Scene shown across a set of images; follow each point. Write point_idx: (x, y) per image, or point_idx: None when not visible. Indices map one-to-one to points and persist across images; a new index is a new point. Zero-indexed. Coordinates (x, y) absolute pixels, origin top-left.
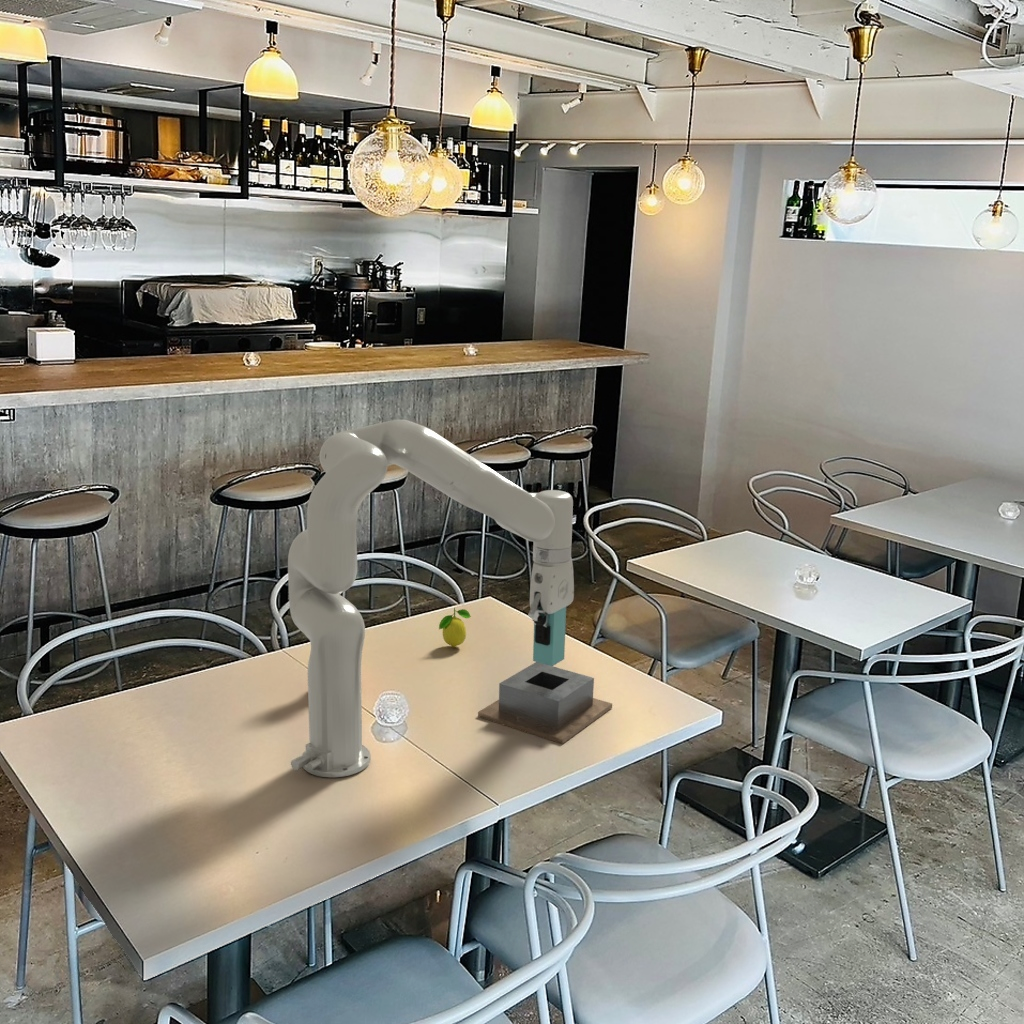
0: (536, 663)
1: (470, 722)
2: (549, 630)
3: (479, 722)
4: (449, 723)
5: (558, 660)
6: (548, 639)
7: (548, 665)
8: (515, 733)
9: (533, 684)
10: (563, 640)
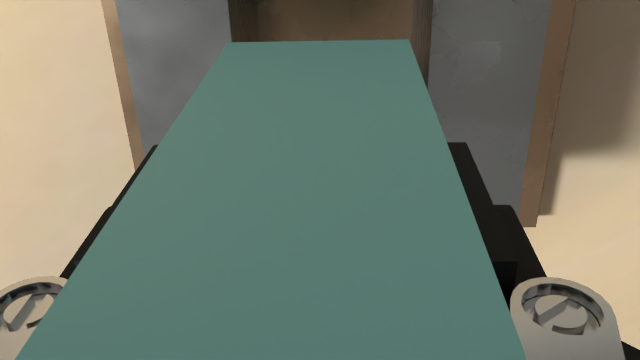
0: None
1: (590, 211)
2: (487, 229)
3: (573, 186)
4: (633, 260)
5: (314, 46)
6: (477, 171)
7: None
8: (602, 17)
9: None
10: (216, 101)
